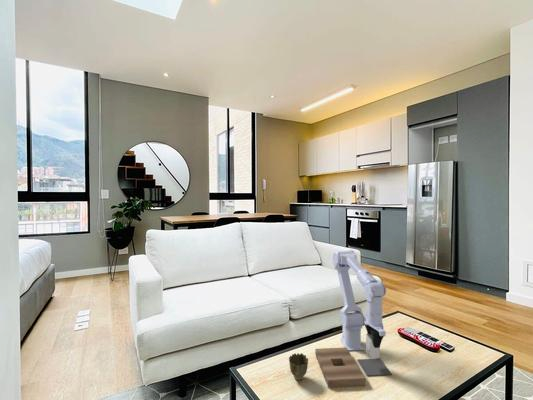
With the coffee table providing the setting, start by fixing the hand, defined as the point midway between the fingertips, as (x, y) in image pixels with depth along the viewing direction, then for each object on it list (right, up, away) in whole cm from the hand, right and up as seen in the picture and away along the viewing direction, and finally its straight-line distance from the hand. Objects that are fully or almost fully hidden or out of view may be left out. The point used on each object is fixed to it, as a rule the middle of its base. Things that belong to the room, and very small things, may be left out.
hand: (374, 344), depth 116 cm
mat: (0, -10, +1) cm, 10 cm away
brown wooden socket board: (-15, -10, 0) cm, 18 cm away
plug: (-1, -5, 0) cm, 5 cm away
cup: (-32, -11, -5) cm, 34 cm away
